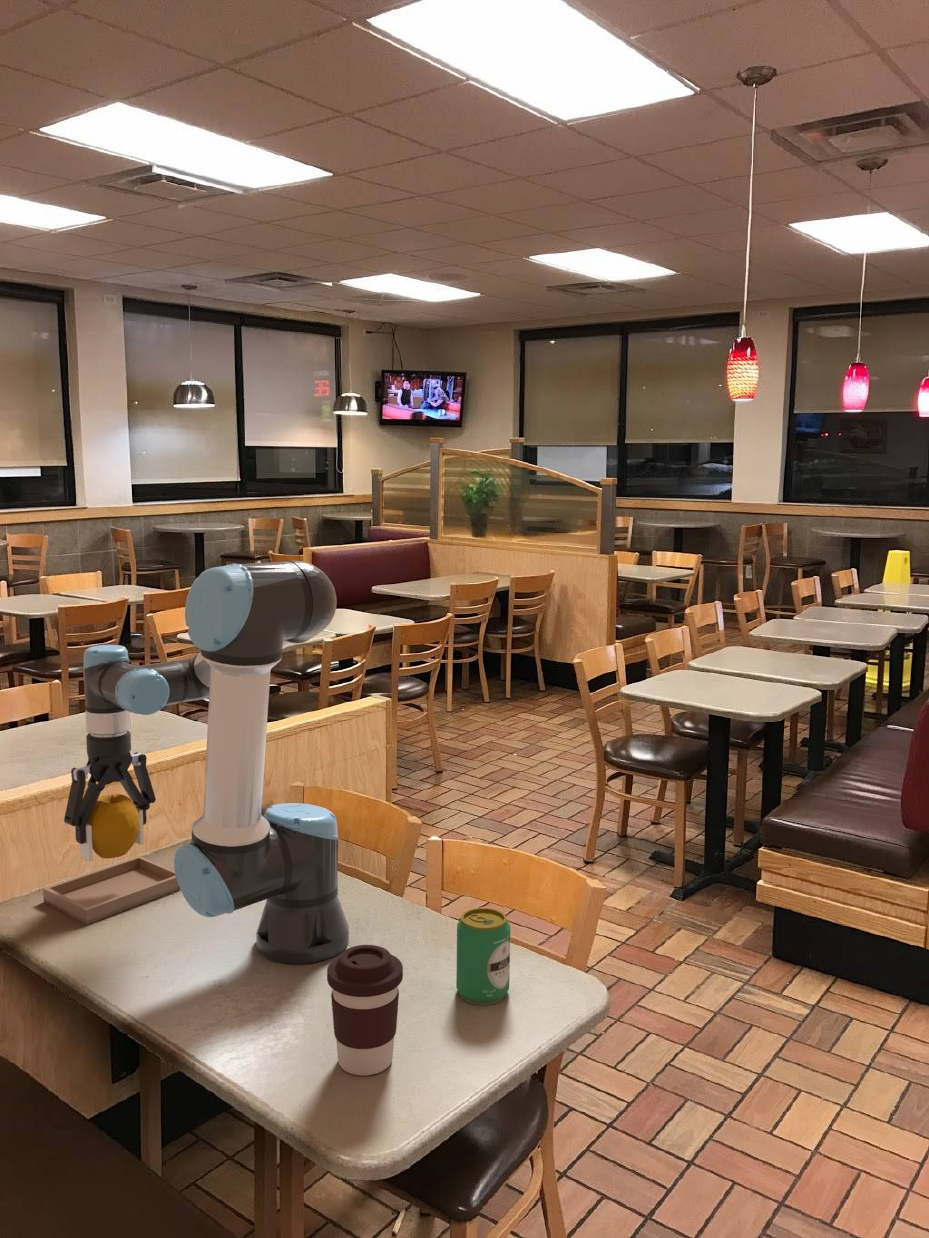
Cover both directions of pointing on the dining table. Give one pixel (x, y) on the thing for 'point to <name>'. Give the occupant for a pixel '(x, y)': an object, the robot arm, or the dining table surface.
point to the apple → (114, 825)
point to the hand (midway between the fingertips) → (112, 850)
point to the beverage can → (483, 956)
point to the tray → (111, 889)
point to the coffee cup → (365, 1007)
